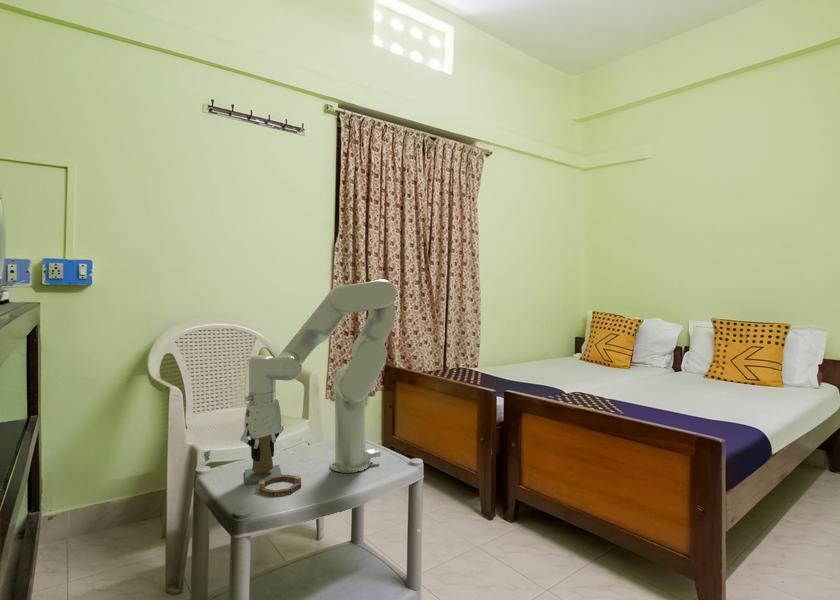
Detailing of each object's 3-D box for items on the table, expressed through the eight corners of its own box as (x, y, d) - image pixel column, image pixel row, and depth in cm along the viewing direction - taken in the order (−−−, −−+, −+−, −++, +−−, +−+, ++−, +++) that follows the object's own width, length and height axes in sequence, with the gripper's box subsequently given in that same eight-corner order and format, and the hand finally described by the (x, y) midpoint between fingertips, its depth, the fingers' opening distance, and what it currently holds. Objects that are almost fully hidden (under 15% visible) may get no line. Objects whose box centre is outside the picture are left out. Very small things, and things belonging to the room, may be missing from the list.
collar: (298, 476, 136) (298, 469, 136) (303, 491, 126) (303, 483, 126) (258, 482, 132) (258, 475, 132) (260, 499, 122) (260, 490, 122)
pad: (279, 467, 143) (279, 464, 143) (282, 479, 134) (282, 477, 134) (244, 472, 139) (244, 469, 139) (245, 485, 130) (245, 482, 130)
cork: (273, 471, 135) (273, 433, 134) (251, 473, 133) (251, 436, 132) (273, 463, 140) (273, 428, 140) (252, 465, 138) (251, 429, 138)
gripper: (243, 404, 127) (244, 470, 127) (293, 393, 140) (294, 453, 141) (229, 400, 132) (229, 463, 132) (279, 390, 145) (279, 447, 145)
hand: (262, 457), depth 136 cm, fingers closed on cork, 4 cm apart
